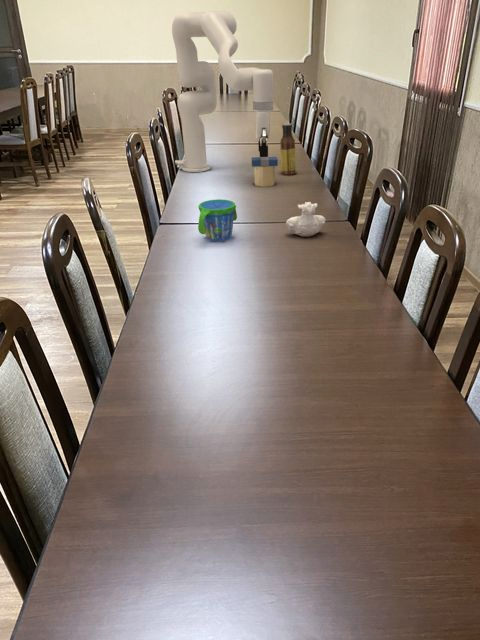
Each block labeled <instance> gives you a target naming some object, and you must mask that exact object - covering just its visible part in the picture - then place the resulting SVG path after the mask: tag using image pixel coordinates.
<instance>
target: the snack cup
mask: <svg viewBox="0 0 480 640" xmlns="http://www.w3.org/2000/svg"><path fill="white" fill-rule="evenodd" d="M197 208H198V210H199V217H198V224H197V230H198V233H199V234H200V235H205V237H206V238H207V240H209V241H211V242H225V241H228V240H230V239H232V236H233V228H234V222H235V221H237V219H238V213H237V205H236V202H235V201H233V200H230V199H221V198H220V199H219V198H217V199H208V200H205V201H202V202H201V203H199V204H198V207H197Z"/></svg>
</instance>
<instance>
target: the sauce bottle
mask: <svg viewBox="0 0 480 640" xmlns="http://www.w3.org/2000/svg"><path fill="white" fill-rule="evenodd" d="M281 128H282V137H281V139H280V142H279V143H280V170H281V171H280V172H281V174H282V175H284V176H285V175H286V176H292V175H295V174H296V173H297V170H296V169H297V165H296V164H297V162H296V160H297V159H296V141H295V139H294V136H293V123H282V125H281Z"/></svg>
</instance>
